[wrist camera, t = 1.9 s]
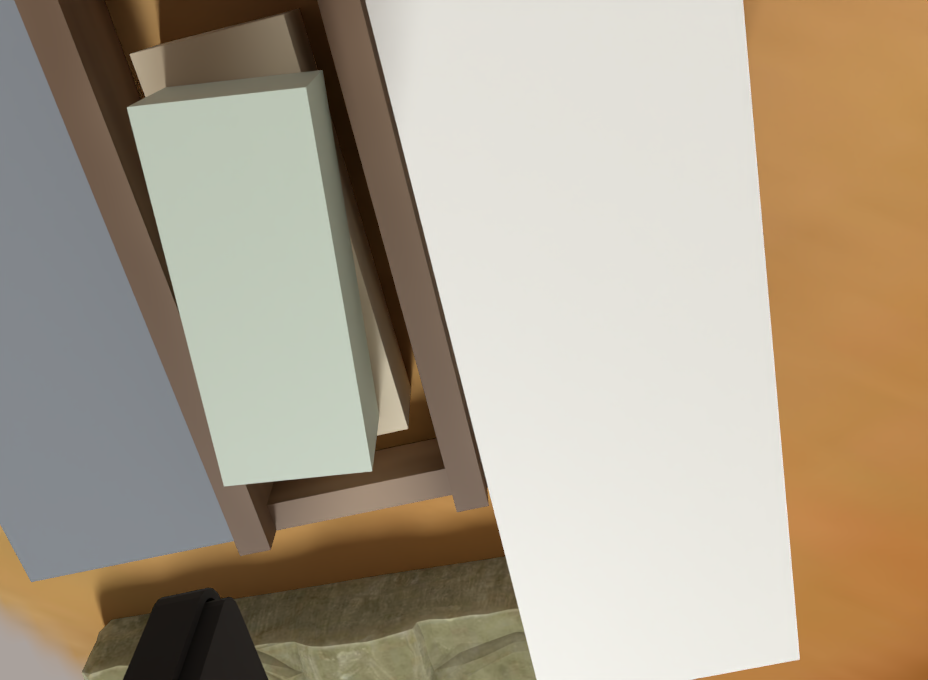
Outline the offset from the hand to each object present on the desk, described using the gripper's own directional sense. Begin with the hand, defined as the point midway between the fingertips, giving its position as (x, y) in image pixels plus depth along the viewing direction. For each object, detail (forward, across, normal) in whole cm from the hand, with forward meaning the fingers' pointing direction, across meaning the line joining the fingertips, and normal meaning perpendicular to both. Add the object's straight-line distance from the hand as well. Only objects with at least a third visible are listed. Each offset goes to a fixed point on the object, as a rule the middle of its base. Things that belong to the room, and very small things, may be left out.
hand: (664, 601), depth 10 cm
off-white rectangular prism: (+18, -1, 0) cm, 18 cm away
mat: (+18, +15, 0) cm, 24 cm away
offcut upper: (+16, +7, 0) cm, 17 cm away
